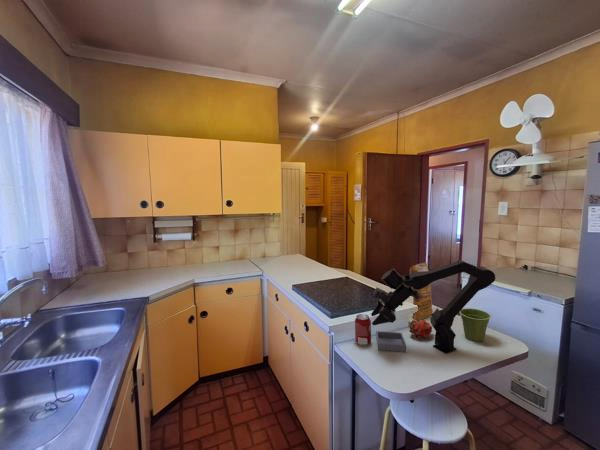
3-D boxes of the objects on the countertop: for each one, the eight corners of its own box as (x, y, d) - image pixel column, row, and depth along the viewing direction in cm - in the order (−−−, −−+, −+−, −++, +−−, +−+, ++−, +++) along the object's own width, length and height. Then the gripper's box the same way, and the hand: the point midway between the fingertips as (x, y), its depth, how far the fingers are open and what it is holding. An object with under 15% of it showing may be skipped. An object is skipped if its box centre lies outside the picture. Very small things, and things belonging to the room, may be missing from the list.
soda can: (368, 348, 116) (367, 321, 115) (353, 344, 120) (352, 317, 119) (373, 341, 122) (372, 315, 121) (358, 337, 126) (358, 312, 125)
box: (402, 339, 123) (402, 332, 123) (406, 352, 112) (406, 345, 112) (376, 337, 125) (376, 331, 125) (377, 350, 114) (377, 343, 114)
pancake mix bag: (404, 318, 145) (404, 265, 142) (426, 309, 155) (426, 260, 153) (416, 322, 139) (416, 268, 137) (437, 313, 149) (437, 262, 147)
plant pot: (453, 336, 124) (453, 312, 123) (467, 329, 130) (468, 306, 129) (481, 347, 114) (482, 321, 113) (495, 339, 120) (496, 314, 119)
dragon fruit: (407, 341, 124) (428, 340, 127) (419, 337, 117) (441, 336, 121) (402, 322, 128) (422, 321, 132) (413, 317, 122) (435, 317, 125)
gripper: (382, 276, 126) (358, 298, 129) (387, 289, 108) (358, 315, 111) (400, 294, 125) (375, 316, 128) (408, 310, 107) (379, 335, 110)
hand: (372, 319), depth 119 cm, fingers open, 9 cm apart
